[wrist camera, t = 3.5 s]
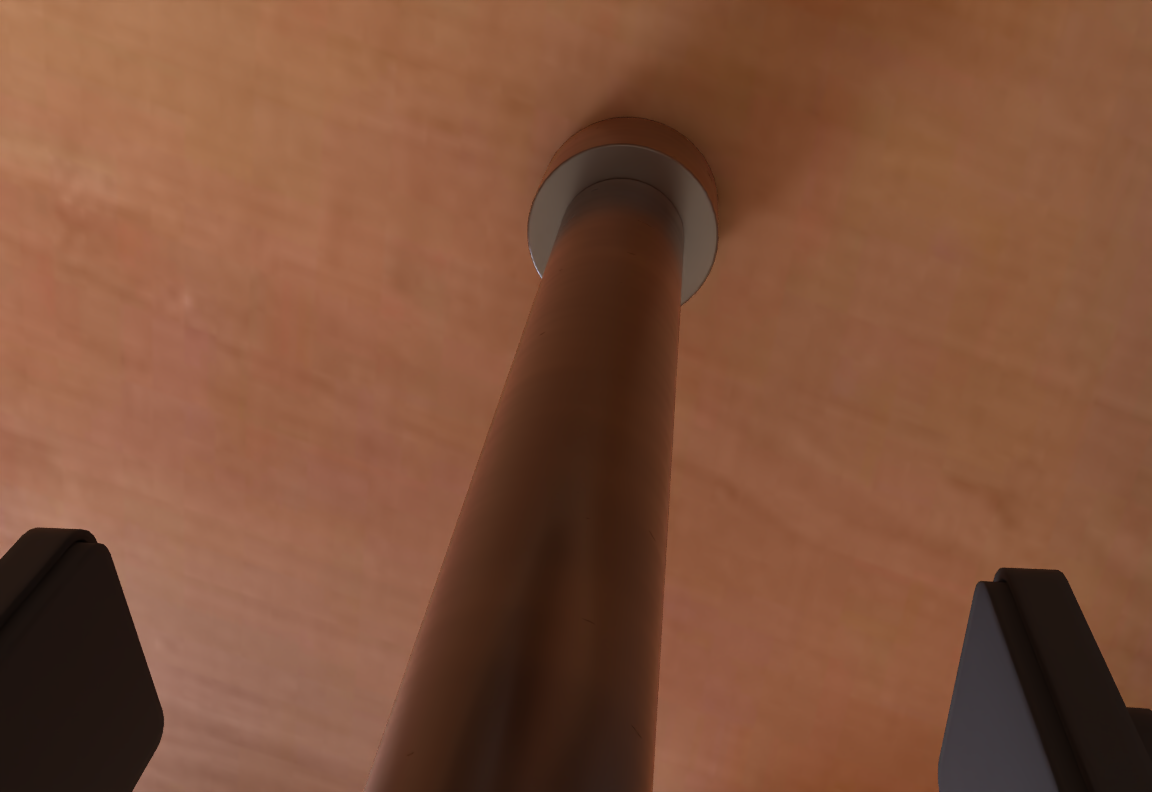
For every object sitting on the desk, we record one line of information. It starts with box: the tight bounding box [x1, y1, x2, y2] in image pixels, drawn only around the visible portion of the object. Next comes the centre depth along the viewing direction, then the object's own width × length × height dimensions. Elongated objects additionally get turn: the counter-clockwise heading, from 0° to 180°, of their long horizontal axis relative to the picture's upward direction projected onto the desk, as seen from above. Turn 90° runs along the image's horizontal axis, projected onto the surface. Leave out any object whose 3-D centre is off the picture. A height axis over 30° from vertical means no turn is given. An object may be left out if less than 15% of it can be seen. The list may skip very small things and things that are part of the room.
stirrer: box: [363, 117, 719, 792], centre depth 15 cm, size 4×4×18 cm
